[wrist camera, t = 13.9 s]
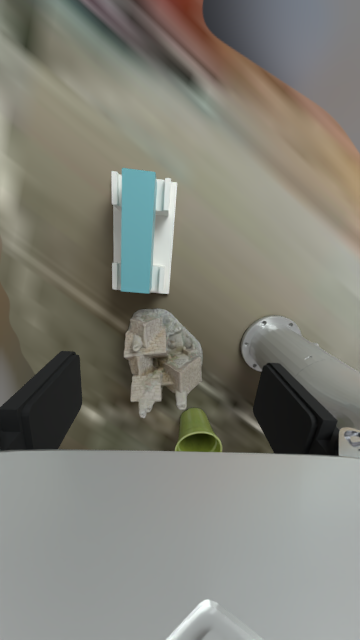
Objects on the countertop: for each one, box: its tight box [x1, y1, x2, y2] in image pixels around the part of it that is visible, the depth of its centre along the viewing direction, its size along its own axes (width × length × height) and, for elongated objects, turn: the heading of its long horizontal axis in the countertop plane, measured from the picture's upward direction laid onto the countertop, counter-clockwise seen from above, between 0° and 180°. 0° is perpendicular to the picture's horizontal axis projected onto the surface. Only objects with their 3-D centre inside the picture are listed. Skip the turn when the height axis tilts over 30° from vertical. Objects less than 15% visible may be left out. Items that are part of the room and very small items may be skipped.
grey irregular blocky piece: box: [124, 308, 203, 418], centre depth 36 cm, size 16×16×15 cm
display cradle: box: [112, 171, 177, 294], centre depth 34 cm, size 10×18×6 cm, turn 175°
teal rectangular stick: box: [121, 168, 157, 294], centre depth 30 cm, size 4×15×4 cm, turn 174°
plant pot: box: [175, 408, 222, 452], centre depth 45 cm, size 9×9×9 cm
